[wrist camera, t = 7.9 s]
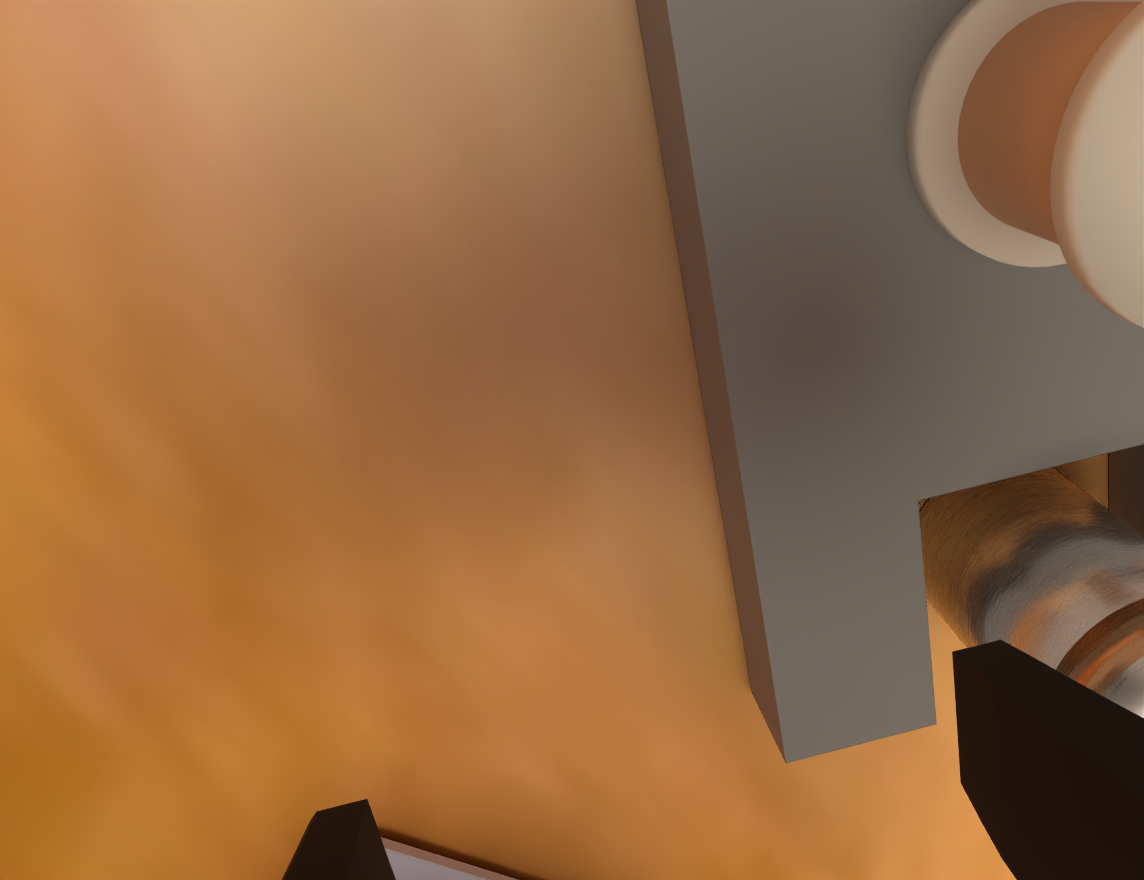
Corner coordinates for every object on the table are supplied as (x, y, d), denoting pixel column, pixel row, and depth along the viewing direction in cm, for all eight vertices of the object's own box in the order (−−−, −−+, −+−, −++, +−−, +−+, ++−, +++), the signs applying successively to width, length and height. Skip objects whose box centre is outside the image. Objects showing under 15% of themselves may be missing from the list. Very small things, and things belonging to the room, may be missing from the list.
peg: (1010, 643, 25) (1210, 865, 19) (868, 580, 24) (1030, 794, 18) (1119, 496, 24) (1372, 680, 18) (975, 422, 23) (1190, 591, 16)
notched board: (1242, 566, 25) (1551, 778, 18) (751, 692, 25) (881, 959, 18) (1286, -205, 19) (1784, -320, 12) (626, -56, 18) (752, -88, 11)
